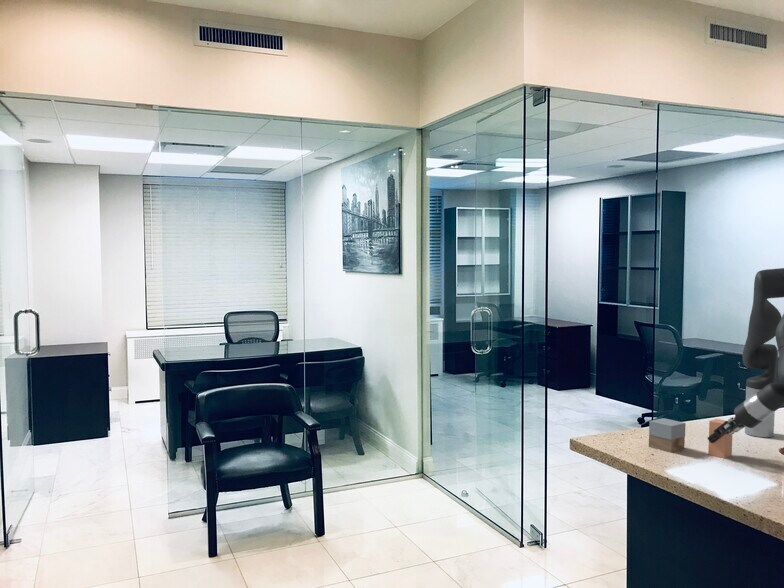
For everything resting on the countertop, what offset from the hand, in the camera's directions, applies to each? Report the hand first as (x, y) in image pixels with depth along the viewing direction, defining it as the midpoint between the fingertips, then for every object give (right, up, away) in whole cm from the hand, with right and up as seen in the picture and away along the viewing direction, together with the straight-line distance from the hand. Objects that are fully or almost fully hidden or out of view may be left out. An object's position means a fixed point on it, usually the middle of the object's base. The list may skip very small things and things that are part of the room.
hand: (715, 439), depth 203 cm
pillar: (+1, -5, -1) cm, 5 cm away
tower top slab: (-13, 0, +6) cm, 14 cm away
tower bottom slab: (-13, -5, +7) cm, 15 cm away
